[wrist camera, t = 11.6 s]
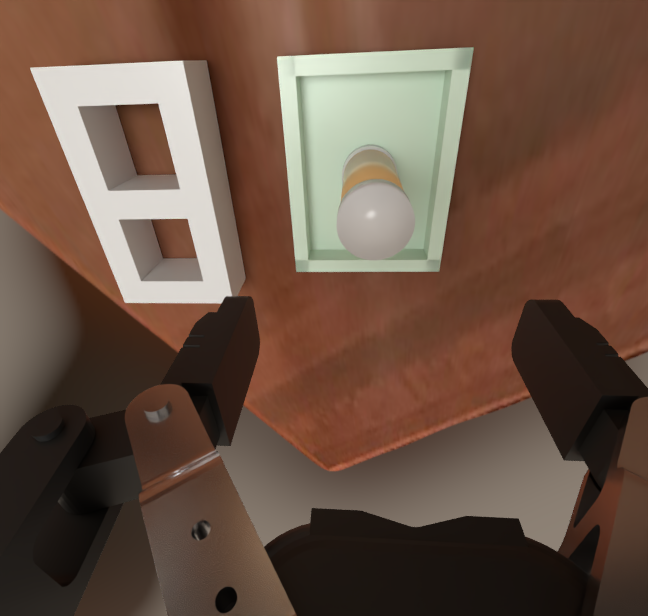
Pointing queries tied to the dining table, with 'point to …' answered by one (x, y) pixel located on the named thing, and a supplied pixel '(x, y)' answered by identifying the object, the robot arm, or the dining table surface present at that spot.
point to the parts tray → (371, 128)
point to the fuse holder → (149, 190)
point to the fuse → (373, 205)
